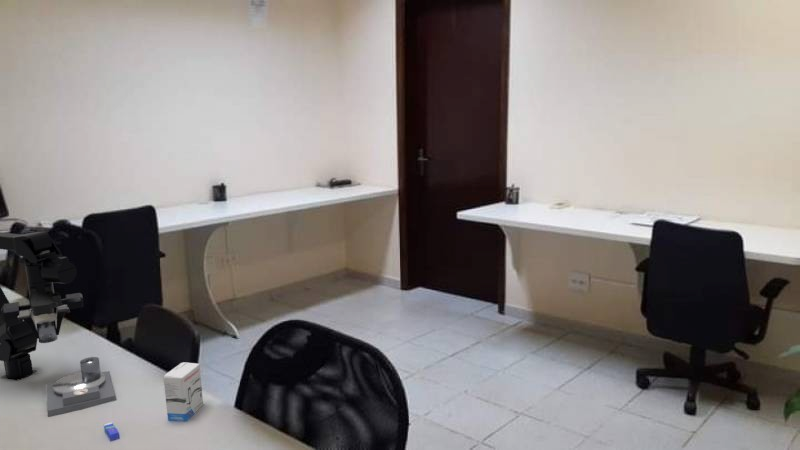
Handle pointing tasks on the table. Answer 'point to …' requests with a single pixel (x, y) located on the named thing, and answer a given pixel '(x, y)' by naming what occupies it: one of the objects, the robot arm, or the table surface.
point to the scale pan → (75, 383)
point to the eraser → (111, 431)
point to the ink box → (183, 391)
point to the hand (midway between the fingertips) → (47, 336)
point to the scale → (80, 397)
